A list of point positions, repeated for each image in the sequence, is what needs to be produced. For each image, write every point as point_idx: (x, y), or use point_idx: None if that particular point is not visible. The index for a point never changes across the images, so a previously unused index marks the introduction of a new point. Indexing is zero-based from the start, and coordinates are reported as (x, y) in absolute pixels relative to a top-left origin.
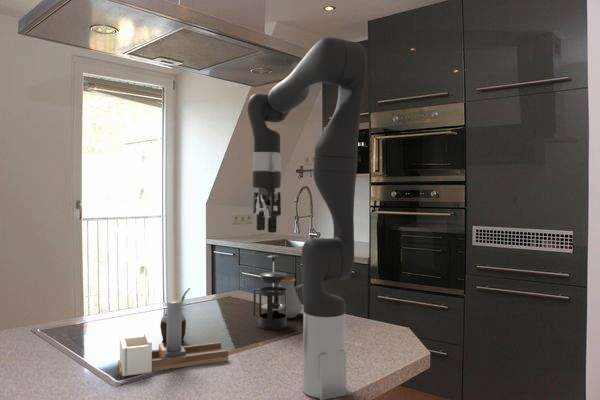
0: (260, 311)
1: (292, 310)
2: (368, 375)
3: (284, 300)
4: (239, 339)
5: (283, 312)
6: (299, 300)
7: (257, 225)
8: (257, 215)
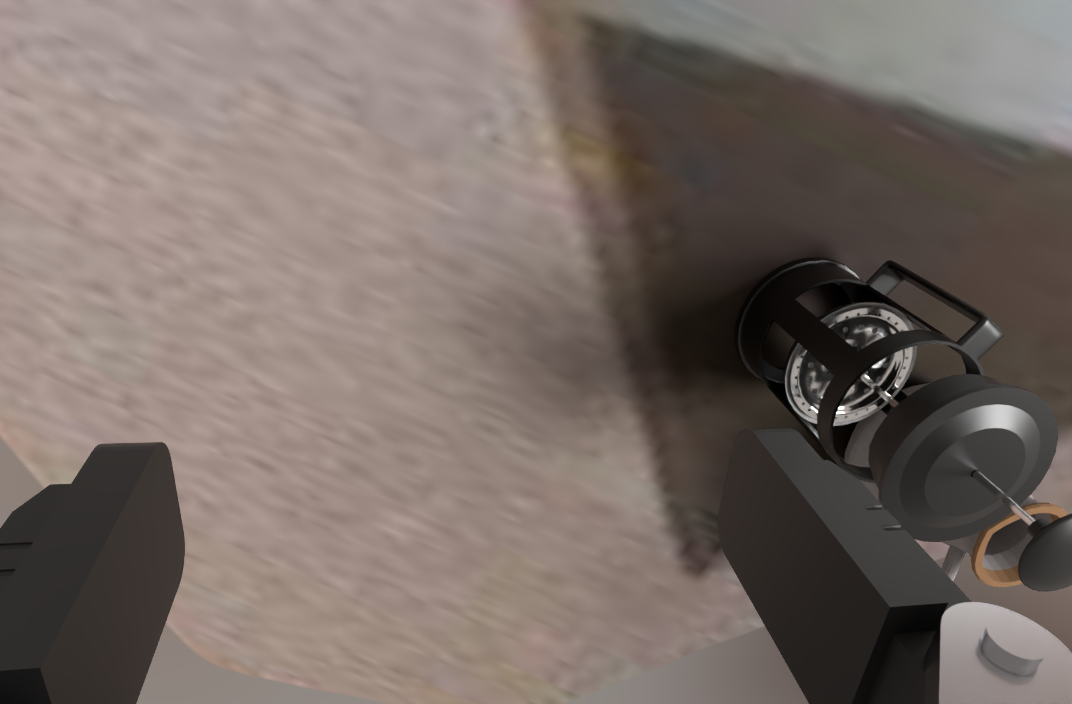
0: (887, 302)
1: (852, 458)
2: (31, 404)
3: None
4: (701, 91)
5: (870, 417)
6: None
7: (781, 471)
8: (932, 638)
